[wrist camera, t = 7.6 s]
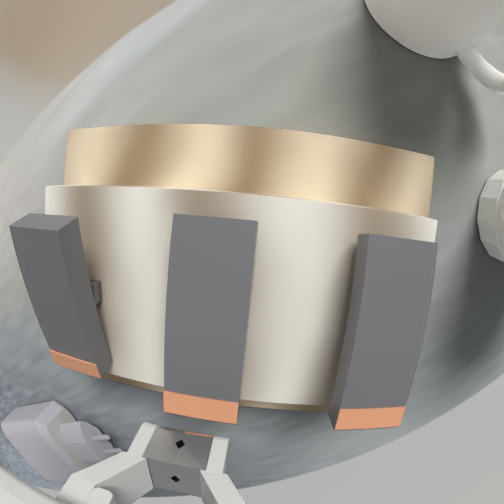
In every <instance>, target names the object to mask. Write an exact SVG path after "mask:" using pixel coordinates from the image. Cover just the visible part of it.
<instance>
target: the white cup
mask: <svg viewBox="0 0 504 504" xmlns="http://www.w3.org/2000/svg"><path fill="white" fill-rule="evenodd" d="M477 222H478V228H479V234H480V240H481V242H482V243H483V245H484V247H485V249H486V250H487V252H488V254H489V255H490V256H492V257H493V258H495V259H497V260H499V261H501V262H503V263H504V170H498V171H497V172H496V173H495V174H494V175H492V176H491V177H490V178H489V179H487V181H486V184H485V186H484V188H483V190H482V193H481V195H480V197H479V206H478V214H477Z"/></svg>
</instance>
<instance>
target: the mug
mask: <svg viewBox="0 0 504 504" xmlns="http://www.w3.org/2000/svg"><path fill="white" fill-rule="evenodd" d="M365 3H366V6H367V8H368V10H369V12H370V13H371V15H372V17H373V18H374V19H375V21H376V22H377V23H378V24H379V25H380V27H381V28H382V29H383V30H384V31H385V32H386V33H387V34H389V35H390V36H391V37H392V38H393V39H395V40H396V41H397V42H399V43H400V44H402V45H403V46H405V47H406V48H408V49H410V50H412V51H414V52H416V53H418V54H421V55H424V56H427V57H431V58H437V59H445V58H451V57H453V56H456V55H457V56H458V58H459V59H460V60H461V62H462V63H463V64H464V65H465V67H466V68H467V69H468V70H469V72H470V73H471V74H472V75H473V76H474V77H475V78H476V79H477V80H478V81H479V82H480V83H481V84H483V85H484V86H485V87H487V88H488V89H490V90H492V91H494V92H496V93H499V94H504V73H501V72H499V71H498V70H496V69H495V68H493V67H492V66H491V65H490V64H489V63H488V62H487V61H486V60H485V59H484V58H483V57H482V56H481V55H480V54H479V53H478V51H477V50H476V49H475V47H474V43H476V42H477V41H479V40H480V39H482V38H484V37H485V36H487V35H488V34H490V33H492V32H493V31H495V30H496V29H498V28H500V27H501V26H503V25H504V0H365Z"/></svg>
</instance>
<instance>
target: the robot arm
mask: <svg viewBox="0 0 504 504" xmlns="http://www.w3.org/2000/svg"><path fill="white" fill-rule="evenodd" d="M228 452H229V438H224V437H217V436H211V435H204V434H198V433H192V432H185V431H180V430H176V429H171V428H167V427H163V426H159V425H155V424H151V423H147V422H144V423H143V424H142V425H141V427H140V429H139V430H138V432H137V434H136V436H135V438H134V440H133V442H132V444H131V445H130V447H129V449H128V451H127V452H124V451H122V452H120V453H118V454H116V455H114V456H112V457H110V458H108V459H105V460H103V461H101V462H99V463H97V464H94V465H92V466H90V467H88V468H85V469H83V470H81V471H78V472H76V473H73V474H71V476H70V477H69V479H68V480H67V482H66V483H65V485H64V486H63V488H62V489H61V491H60V493H59V494H58V496H57V497H56V499H55V498H53V497H51V496H50V495H48V494H45V493H44V492H42V491H41V490H39V489H37V488H35V487H34V486H32V485H30V484H29V483H27V482H25V481H24V480H22V479H21V478H19V477H18V476H16V475H15V474H13V473H12V472H10V471H9V470H7V469H6V468H4V467H3V466H1V465H0V504H131V503H133V502H134V501H136V500H137V499H139V498H140V497H142V496H143V495H144V494H146V493H147V492H149V491H150V490H152V489H153V488H154V487H157V488H161V489H166V490H170V491H175V492H180V493H184V494H188V495H194V496H198V497H202V500H203V502H204V504H246V502H245V501H244V499H243V498H242V496H241V495H240V493H239V492H238V490H237V489H236V487H235V485H234V484H233V482H232V481H231V479H230V478H229V476H228V474H226V471H227V463H228Z"/></svg>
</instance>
